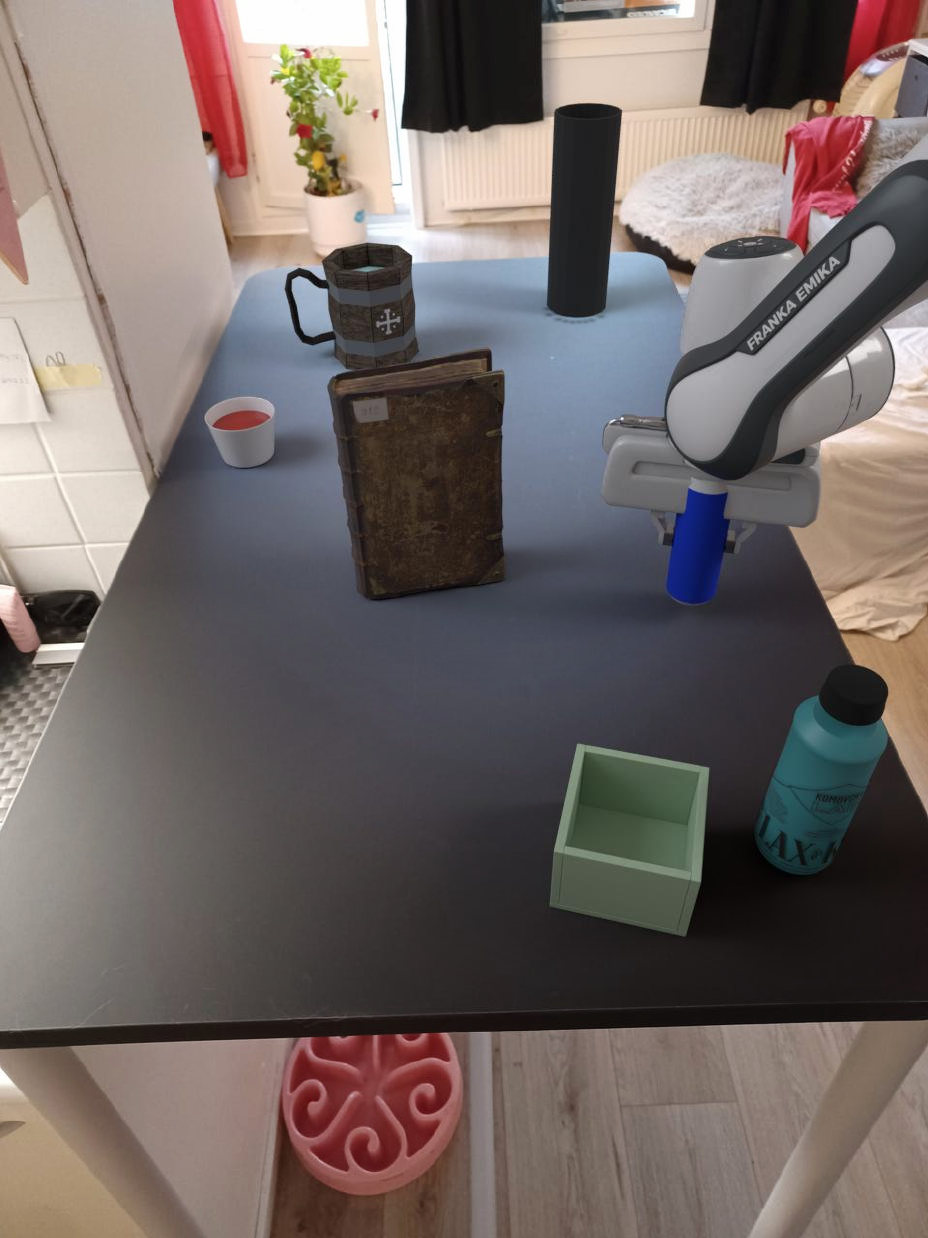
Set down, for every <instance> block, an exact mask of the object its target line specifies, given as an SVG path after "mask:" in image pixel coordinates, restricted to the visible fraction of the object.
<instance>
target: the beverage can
mask: <svg viewBox="0 0 928 1238" xmlns="http://www.w3.org/2000/svg"><path fill="white" fill-rule="evenodd" d="M691 481H693V482H692V483H691V485H690V486H689V487H688V494H687V502H686V510H685V512H684V514H680V513H675V521H674V524H675V527H674V537H673V544H672V546H671V547H670V548H671V549H670V554H669V563H668V569H667V576H666V583H665V589H666V591H667V593H668V595H669V596H670V598H672V599H673V600H674V601H675V602H677V603H679V604H681V605H684V606H688V607H697V606H702V605H704V604H708V602H710V601H711V600H712V599H714V598H715V596H716V594H717V591H718V584H719V580H720V574H721V571H722V570H721V569H722V564H723V558H724V554H725V553H724V547H725V542H726V538H727V534H728V530H730V529H729V528H730V523H731V519H725V518H724V510H725V505H726V500H727V496H728V490H727V487H726V485H727V484H729V483H728V481H725V482H724V481H722V482H716V481H707V480H699V479H697V478H693V477H692V478H691Z"/></svg>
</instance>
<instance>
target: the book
mask: <svg viewBox="0 0 928 1238" xmlns="http://www.w3.org/2000/svg"><path fill="white" fill-rule="evenodd" d="M505 375H506V374H505V371H504V370H503V368H500V369H495V370H493V354H492V349H491V348H490V347H489V346H486V347H479V348H470V349H465V350H464V351H459V352H453V353H449V354H444V355H439V356H434V357H429V358H424V359H423V358H422V359H418V360H414V361H410V362H408V363H402V364H396V365H390V366H384V367H378V368H365V369H358V370H348V371H344V372H340V373H337V374H336V375H333V376H332V377H330V379H329V382H328V383H327V386H326V388H327V393H328V397H329V402H330V406H331V407H330V408H331V412H332V413H331V414H332V418H333V420H332V429H333V433H334V435H335V439H336V447H337V453H338V454H337V464H338V467H339V469H340V475H341V480H342V481H341V482H342V497H343V499H344V501H345V507H346V514H347V518H346V519H347V520H346V525H347V528H348V531H349V535H350V541H351V557H352V559H353V562H354V569H355V570H354V571H355V588H356V591H357V592H358V594H359V595H360V596H362V597H363V598H365V599H368V598H369V599H372V600H378V599H379V600H380V599H387V598H397V597H400V596H403V595H407V594H414V593H420V592H425V591H426V592H427V591H432V590H438V589H445V588H446V589H447V588H452V587H460V586H461V587H462V586H474V585H477V586H478V585H484V584H490V583H495V582H501V581H503V580H505V579H506V577H507V564H506V557H505V555H506V554H505V549H504V538H503V530H504V520H503V519H504V517H503V503H504V502H503V501H504V498H503V468H502V467H503V440H504V439H503V438H504V436H503V424H504V410H505V401H506V376H505Z"/></svg>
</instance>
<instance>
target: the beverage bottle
mask: <svg viewBox="0 0 928 1238" xmlns="http://www.w3.org/2000/svg"><path fill="white" fill-rule="evenodd" d="M888 697H889V686H888V684H887V682H886V681H885V679H884V678H883V677H882V676H881V675H880V674H879V673H878V672H876V671H875V670H873V669H871V668H869V667H866V666H864V665H859V664H853V663H852V664H850V663H849V664H841V665H838V666H836V667H834V668H833V669H832V670H830V672H829V673H828V674H827V677H826V679H825V681H824V683H823V684H822V686H821V688H820V690H819V693H818V695H815V696H811V697H808V698H807V699H805V700H804V701H802V702H801V703H800V704H799V705H798V706H797V708H796V709H795V711H794V714H793V719H792V723H791V725H790V729H789V731H788V734H787V737H786V740H785V742H784V746H783V749H782V751H781V754H780V757H779V759H778V763H777V765H776V766H775V767H774V770H772V771H771V774H770V778H769V780H768V786H767V788H766V792H765V793H764V795H763V798H762V800H761V803H760V806H759V809H758V812H757V815H756V817H755V821H754V824H755V825H754V826H753V830H752V831H753V832H754V836H753V837H754V840H755V843H756V846H757V848H758V850H759V852H760V853H761V855H762V856H763V857H764V858H765V860H767V861H768V863H770V864H771V865H773V866H774V867H775V868H777V869H779V870H781V871H784V872H786V873H789V874H793V875H798V876H807V875H808V876H809V875H813V874H817V873H819V872H821V871H823V870H825V869H827V868H828V867H830V865H832V864H833V863H834V861H835V859H836V857H837V855H838V854H839V852H840V850H841V847H842V846H843V844H844V842H845V840H846V837H847V835H848V833H849V831H848V829H849V826H850V823H851V821H852V820H853V817H854V816H855V814H856V812H857V811H856V810H858V809H857V808H859V805H860V803H861V802H863V801H864V799H862V798H863V797H864V794H865V792H866V789H867V788H869V787H870V786H871V784H870V782H871V781H872V779H871V777H872V775H873V773H874V770H875V769H876V767H877V764H878V763H879V760H880V758H881V756H882V755H883V753H884V752H885V750H886V748H887V746H888V740H889V736H888V735H889V734H888V731H887V727H886V725H885V723H884V722H883V720H882V719H881V718H882V717H883V715H884V712H885V709H886V703H887V701H888ZM867 791H868V789H867ZM861 800H862V801H861ZM846 832H847V833H846Z"/></svg>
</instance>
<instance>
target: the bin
mask: <svg viewBox="0 0 928 1238" xmlns="http://www.w3.org/2000/svg"><path fill="white" fill-rule="evenodd" d="M570 771H571V772H570V775H569V780H568V785H567V789H566V793H565V797H564V803H563V807H562V812H561V817H560V822H559V825H558V831H557V835H556V840H555V844H554V849H553V858H552V872H551V884H550V898H549V907H550V908H554V909H559V910H563V911H568V912H572V913H577V914H581V915H586V916H591V917H594V918H598V919H604V920H608V921H612V922H617V923H622V924H627V925H629V926H630V925H631V926H635V927H640V928H645V929H649V930H653V931H657V932H663V933H665V934H671V935H675V936H680V937H684V938H686V937H687V933H688V929H689V926H690V923H691V919H692V915H693V913H694V912H693V911H694V908H695V904H696V901H697V898H698V894H699V890H700V887H701V884H702V876H703V875H702V874H703V861H704V846H705V833H706V821H707V820H706V819H707V808H708V795H709V782H710V781H709V780H710V779H709V778H710V767H708V766H703V765H700V764H699V765H698V764H692V763H686V762H683V761H676V760H671V759H665V758H659V757H655V756H649V755H644V754H639V753H634V752H633V753H632V752H627V751H621V750H616V749H610V748H605V747H599V746H594V745H589V744H583V743H577V744H576V748H575V753H574V756H573V762H572V766H571V770H570Z"/></svg>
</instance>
